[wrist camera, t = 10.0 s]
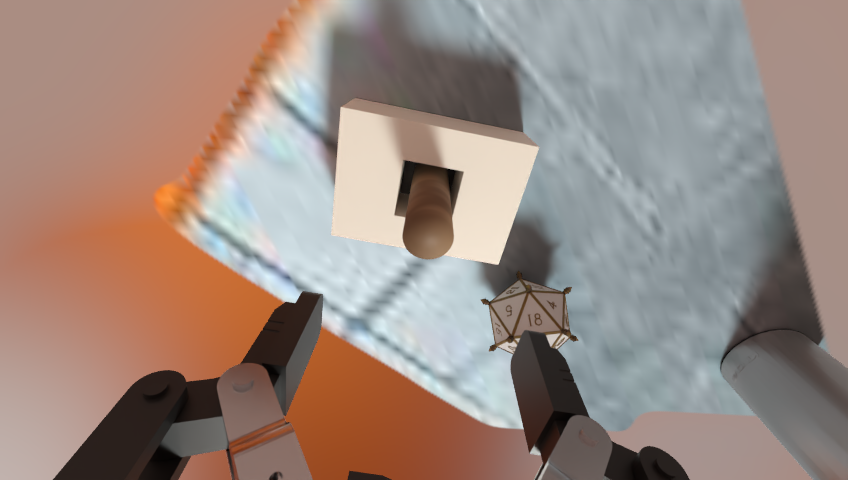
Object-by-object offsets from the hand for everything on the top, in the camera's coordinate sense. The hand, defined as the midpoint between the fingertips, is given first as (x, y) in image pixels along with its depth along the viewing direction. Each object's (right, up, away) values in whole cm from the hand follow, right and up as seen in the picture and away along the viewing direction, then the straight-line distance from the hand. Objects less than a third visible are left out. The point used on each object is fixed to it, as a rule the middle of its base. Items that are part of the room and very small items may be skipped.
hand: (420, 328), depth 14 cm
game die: (+10, -2, +23) cm, 26 cm away
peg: (+1, +9, +17) cm, 20 cm away
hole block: (+1, +9, +17) cm, 20 cm away
